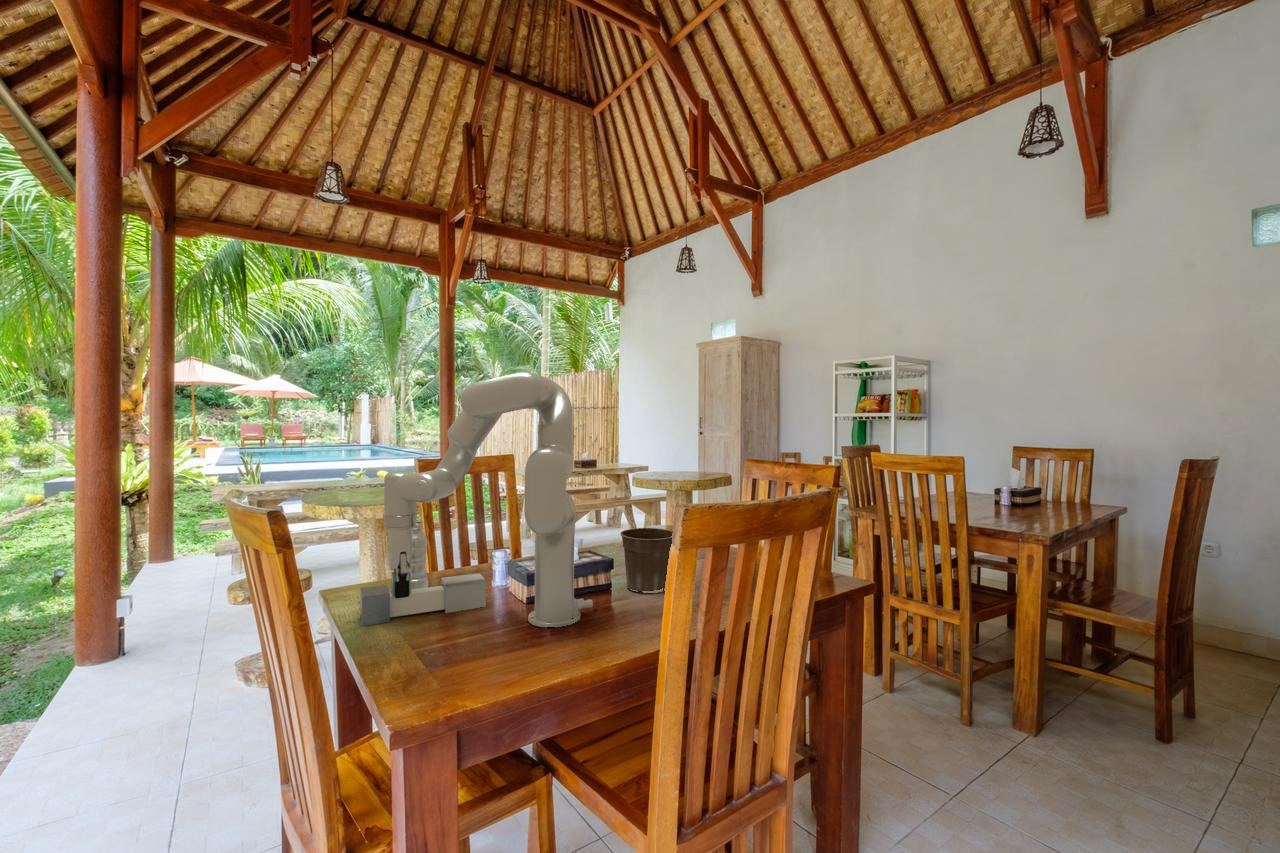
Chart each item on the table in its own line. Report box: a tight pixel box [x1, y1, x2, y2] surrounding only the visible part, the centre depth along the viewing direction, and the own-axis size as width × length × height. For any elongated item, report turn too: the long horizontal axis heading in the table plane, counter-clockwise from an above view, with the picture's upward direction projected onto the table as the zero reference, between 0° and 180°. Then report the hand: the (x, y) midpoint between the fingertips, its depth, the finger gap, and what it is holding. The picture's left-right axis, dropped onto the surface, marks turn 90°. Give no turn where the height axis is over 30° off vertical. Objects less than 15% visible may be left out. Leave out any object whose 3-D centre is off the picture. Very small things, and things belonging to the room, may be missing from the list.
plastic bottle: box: [408, 521, 429, 590], centre depth 160 cm, size 6×7×20 cm
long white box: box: [389, 570, 445, 618], centre depth 143 cm, size 20×4×10 cm, turn 118°
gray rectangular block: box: [440, 572, 487, 614], centre depth 150 cm, size 10×7×7 cm
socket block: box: [359, 584, 391, 627], centre depth 140 cm, size 6×8×7 cm
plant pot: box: [620, 527, 674, 593], centre depth 166 cm, size 16×16×16 cm
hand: (400, 594), depth 142 cm, fingers closed on long white box, 4 cm apart
